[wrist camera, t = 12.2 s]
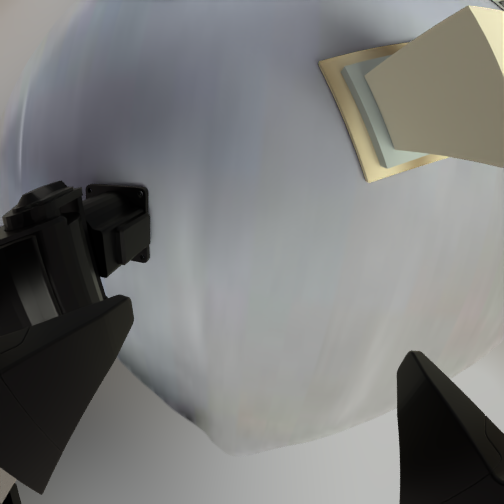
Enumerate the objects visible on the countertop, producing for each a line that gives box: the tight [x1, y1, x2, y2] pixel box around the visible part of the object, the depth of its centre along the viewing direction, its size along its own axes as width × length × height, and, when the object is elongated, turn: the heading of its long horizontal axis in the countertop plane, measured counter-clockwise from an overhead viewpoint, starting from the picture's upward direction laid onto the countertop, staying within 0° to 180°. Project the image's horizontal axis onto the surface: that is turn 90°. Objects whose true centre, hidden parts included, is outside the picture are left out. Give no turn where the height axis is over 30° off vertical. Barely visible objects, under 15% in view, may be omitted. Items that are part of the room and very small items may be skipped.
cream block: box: [364, 6, 504, 168], centre depth 8 cm, size 4×5×11 cm
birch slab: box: [318, 42, 448, 183], centre depth 15 cm, size 9×9×2 cm
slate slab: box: [341, 55, 429, 169], centre depth 14 cm, size 7×7×2 cm
